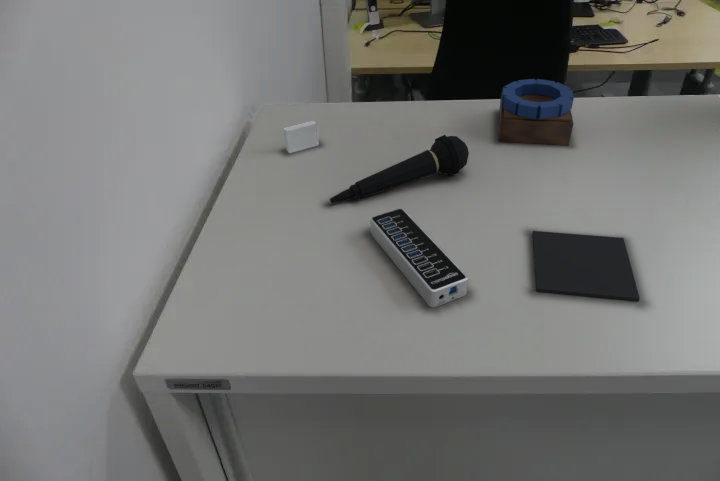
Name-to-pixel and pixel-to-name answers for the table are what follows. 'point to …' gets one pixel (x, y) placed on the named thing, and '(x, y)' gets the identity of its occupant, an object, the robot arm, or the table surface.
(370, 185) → the microphone
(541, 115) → the ring
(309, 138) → the eraser
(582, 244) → the mat
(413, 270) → the multiport hub
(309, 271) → the table surface
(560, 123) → the platform
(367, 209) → the table surface
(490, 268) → the table surface
